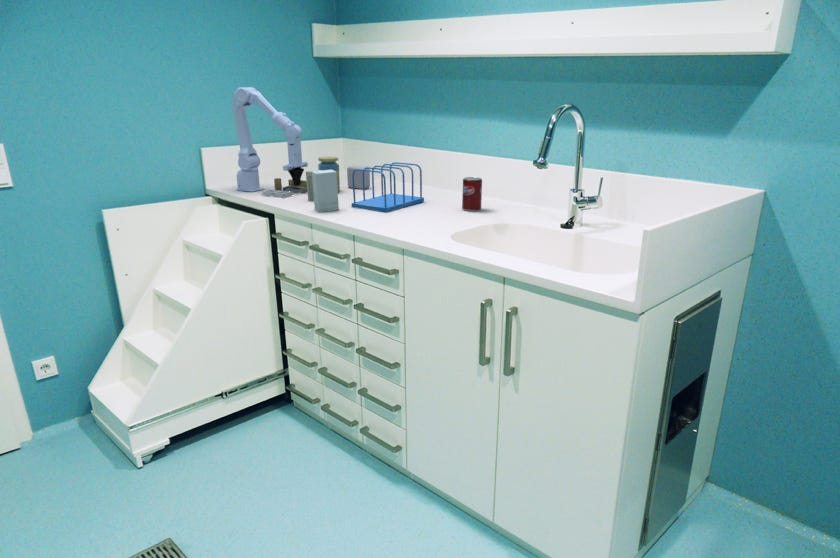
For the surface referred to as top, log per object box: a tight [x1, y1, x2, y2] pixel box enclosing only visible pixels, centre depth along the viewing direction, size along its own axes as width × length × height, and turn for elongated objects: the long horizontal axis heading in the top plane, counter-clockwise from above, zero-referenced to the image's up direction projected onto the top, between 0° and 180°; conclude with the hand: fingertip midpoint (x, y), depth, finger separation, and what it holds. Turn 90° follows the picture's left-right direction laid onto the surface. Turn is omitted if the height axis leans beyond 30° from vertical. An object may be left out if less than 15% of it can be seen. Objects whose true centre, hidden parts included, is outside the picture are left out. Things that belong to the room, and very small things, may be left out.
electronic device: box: [346, 164, 371, 190], centre depth 267 cm, size 10×5×10 cm, turn 58°
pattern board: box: [282, 185, 307, 194], centre depth 266 cm, size 11×19×2 cm, turn 153°
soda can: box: [461, 176, 483, 212], centre depth 223 cm, size 7×7×12 cm
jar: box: [317, 156, 341, 193], centre depth 257 cm, size 9×9×15 cm
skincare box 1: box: [305, 169, 323, 202], centre depth 240 cm, size 6×4×12 cm
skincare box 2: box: [312, 170, 340, 213], centre depth 221 cm, size 8×6×15 cm
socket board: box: [261, 189, 295, 199], centre depth 251 cm, size 12×7×2 cm, turn 63°
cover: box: [288, 178, 307, 189], centre depth 264 cm, size 9×9×3 cm
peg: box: [273, 177, 283, 191], centre depth 257 cm, size 3×3×6 cm
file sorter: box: [351, 161, 425, 213], centre depth 231 cm, size 25×17×15 cm
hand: (296, 185), depth 259 cm, fingers closed
